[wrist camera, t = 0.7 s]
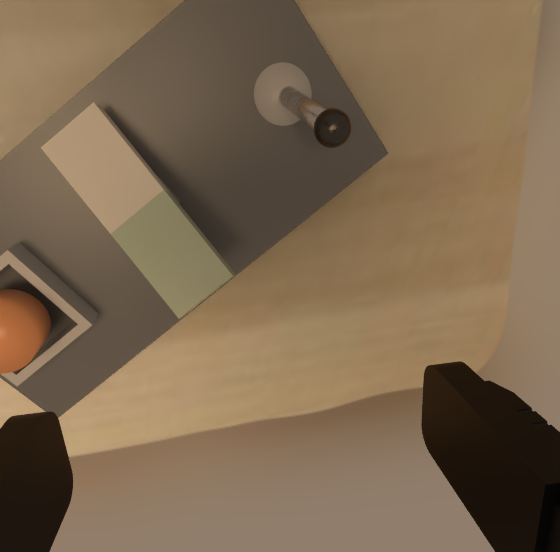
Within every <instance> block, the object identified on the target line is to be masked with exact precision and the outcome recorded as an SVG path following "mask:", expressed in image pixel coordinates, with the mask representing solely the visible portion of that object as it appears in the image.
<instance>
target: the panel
mask: <svg viewBox="0 0 560 552" xmlns="http://www.w3.org/2000/svg"><path fill="white" fill-rule="evenodd" d="M287 86H291V87H294V88H295V89H297V90H298V91H300V92H301V93H303V94H304V95H306V96H307V97H309V98H310V99H312V100H313V101H315V102H316V103H318V104H319V105H321V106H322V107H324V108H325V109H330V108H336V109H340V110H342V111H343V112H345V113H346V114H347V116H348V117H349V119H350V122H351V133H350V136H349V138H348V139H347V141H346V142H345V143H344V144H342V145H341V146H339V147H336V148H327V147H324V146H323V145H321V144H320V143H319V142H318V141H317V140H316V138H315V135H314V131H313V129H312V128H311V127H310V126H308V125H307V124H306V123H304V122H303V121H302V120H300V119H299V118H298V117H297V116H295V115H294V114H293V113H291V112H290V111H289V110H287V109H286V108H285V107H284V106H282V105H281V103H280V101H279V94H280V91H281V90H282V89H283V88H284V87H287ZM93 102H94V103H96V104H97V105H98V106H100V107H101V108H102V109H104V110H105V112H106V113H107V114H108V115H109V117H110V118H111V119H112V120H113V122H114V123H115V124H116V125H117V127H118V128H119V129H120V130H121V132H122V133H123V134H124V135H125V137H126V138H127V139H128V140H129V142H130V143H131V144H132V145H133V147H134V148H135V149H136V150H137V152H138V153H139V154H140V155H141V157H142V158H143V159H144V160H145V162H146V163H147V164H148V165H149V167H150V168H151V169H152V170H153V172H154V173H155V174H156V175H157V177H158V178H159V179H160V180H161V182H162V183H163V184H164V185H165V187H166V188H167V189H168V190H169V192H170V193H171V194H172V195H173V197H174V198H175V199H176V200H177V202H178V203H179V204H180V205H181V207H182V208H183V209H184V210H185V212H186V213H187V214H188V215H189V217H190V218H191V219H192V220H193V222H194V223H195V224H196V225H197V227H198V228H199V229H200V230H201V232H202V233H203V234H204V235H205V237H206V238H207V239H208V240H209V242H210V243H211V244H212V245H213V247H214V248H215V249H216V250H217V252H218V253H219V254H220V255H221V257H222V258H223V259H224V260H225V262H226V263H227V264H228V265H229V267H230V268H231V269H232V270H233V272H234V273H235V274H236V275H237V274H238V273H239V272H241V271H242V270H243V269H244V268H246V267H247V266H248V265H249V264H251V263H252V262H253V261H254V260H256V259H257V258H258V257H259V256H261V255H262V254H263V253H264V252H266V251H267V250H268V249H269V248H271V247H272V246H273V245H274V244H276V243H277V242H278V241H279V240H281V239H282V238H283V237H284V236H286V235H287V234H288V233H289V232H291V231H292V230H293V229H294V228H296V227H297V226H298V225H299V224H301V223H302V222H303V221H304V220H306V219H307V218H308V217H309V216H310V215H312V214H313V213H314V212H315V211H317V210H318V209H319V208H320V207H322V206H323V205H324V204H325V203H327V202H328V201H329V200H330V199H332V198H333V197H334V196H335V195H337V194H338V193H339V192H340V191H342V190H343V189H344V188H345V187H347V186H348V185H349V184H350V183H352V182H353V181H354V180H355V179H357V178H358V177H359V176H360V175H362V174H363V173H364V172H365V171H367V170H368V169H369V168H370V167H372V166H373V165H374V164H375V163H377V162H378V161H379V160H380V159H382V158H383V157H384V156H385V155H387V154H388V152H387V150H386V149H385V147H384V145H383V144H382V142H381V140H380V139H379V137H378V136H377V134H376V132H375V131H374V129H373V127H372V126H371V124H370V123H369V121H368V119H367V118H366V116H365V115H364V113H363V111H362V110H361V108H360V106H359V105H358V103H357V102H356V100H355V98H354V97H353V95H352V93H351V92H350V90H349V89H348V87H347V85H346V84H345V82H344V80H343V79H342V77H341V76H340V74H339V72H338V71H337V69H336V67H335V66H334V64H333V63H332V61H331V59H330V58H329V56H328V55H327V53H326V51H325V50H324V48H323V46H322V45H321V43H320V42H319V40H318V38H317V37H316V35H315V33H314V32H313V30H312V29H311V27H310V25H309V24H308V22H307V20H306V19H305V17H304V16H303V14H302V12H301V11H300V9H299V8H298V6H297V4H296V3H295V1H294V0H185V1H183V2H182V3H181V4H180V5H179V6H178V7H177V8H175V9H174V10H173V11H172V12H171V13H170V14H168V15H167V16H166V17H165V18H164V19H163V20H162V21H160V22H159V23H158V24H157V25H156V26H155V27H153V28H152V29H151V30H150V31H149V32H148V33H147V34H145V35H144V36H143V37H142V38H141V39H140V40H138V41H137V42H136V43H135V44H134V45H133V46H132V47H130V48H129V49H128V50H127V51H126V52H125V53H124V54H122V55H121V56H120V57H119V58H118V59H117V60H115V61H114V62H113V63H112V64H111V65H110V66H109V67H107V68H106V69H105V70H104V71H103V72H102V73H100V74H99V75H98V76H97V77H96V78H95V79H94V80H92V81H91V82H90V83H89V84H88V85H87V86H85V87H84V88H83V89H82V90H81V91H80V92H79V93H77V94H76V95H75V96H74V97H73V98H72V99H71V100H69V101H68V102H67V103H66V104H65V105H64V106H62V107H61V108H60V109H59V110H58V111H57V112H56V113H54V114H53V115H52V116H51V117H50V118H49V119H47V120H46V121H45V122H44V123H43V124H42V125H41V126H39V127H38V128H37V129H36V130H35V131H34V132H32V133H31V134H30V135H29V136H28V137H27V138H26V139H24V140H23V141H22V142H21V143H20V144H19V145H18V146H16V147H15V148H14V149H13V150H12V151H11V152H9V153H8V154H7V155H6V156H5V157H4V158H3V159H1V160H0V290H1V289H15V290H20V291H23V292H26V293H28V294H30V295H32V296H34V297H35V298H37V299H38V300H39V301H40V302H41V303H42V304H43V305H44V306H45V308H46V309H47V311H48V313H49V316H50V319H51V329H50V333H49V336H48V337H47V339H46V340H45V342H44V343H43V345H42V346H41V347H40V349H39V350H38V352H37V353H36V354H35V356H34V357H33V358H32V360H31V361H30V362H29V363H28V364H27V365H26V366H24V367H23V368H21V369H19V370H17V371H14V372H10V373H5V374H0V378H2V379H3V380H4V381H6V382H7V383H8V384H10V385H11V386H12V387H14V388H15V389H16V390H18V391H19V392H20V393H22V394H23V395H24V396H26V397H27V398H28V399H30V400H31V401H32V402H34V403H35V404H36V405H38V406H39V407H40V408H42V409H43V410H44V411H46V412H50V411H52V412H54V413H55V414H56V415H57V417H58V418H59V417H60V416H61V415H62V414H64V413H65V412H66V411H67V410H69V409H70V408H71V407H72V406H74V405H75V404H76V403H77V402H79V401H80V400H81V399H82V398H84V397H85V396H86V395H87V394H89V393H90V392H91V391H92V390H93V389H95V388H96V387H97V386H98V385H100V384H101V383H102V382H103V381H105V380H106V379H107V378H108V377H110V376H111V375H112V374H113V373H115V372H116V371H117V370H118V369H120V368H121V367H122V366H123V365H125V364H126V363H127V362H128V361H130V360H131V359H132V358H133V357H135V356H136V355H137V354H138V353H140V352H141V351H142V350H143V349H145V348H146V347H147V346H148V345H150V344H151V343H152V342H153V341H155V340H156V339H157V338H158V337H160V336H161V335H162V334H163V333H165V332H166V331H167V330H168V329H170V328H171V327H172V326H173V325H175V324H176V323H177V322H178V321H180V320H181V319H182V318H183V317H185V316H186V315H187V314H186V315H185V316H183V317H182V318H180V319H179V318H178V317H177V316H176V315H175V313H174V312H173V311H172V310H171V308H170V307H169V306H168V305H167V303H166V302H165V301H164V300H163V298H162V297H161V296H160V295H159V294H158V292H157V291H156V290H155V289H154V287H153V286H152V285H151V284H150V282H149V281H148V280H147V279H146V277H145V276H144V275H143V274H142V272H141V271H140V270H139V269H138V268H137V266H136V265H135V264H134V263H133V261H132V260H131V259H130V258H129V256H128V255H127V254H126V253H125V251H124V250H123V249H122V248H121V246H120V245H119V244H118V243H117V242H116V240H115V239H114V238H113V237H112V235H111V234H110V233H109V232H108V230H107V229H106V228H105V227H104V225H103V224H102V223H101V222H100V220H99V219H98V218H97V217H96V216H95V214H94V213H93V212H92V211H91V209H90V208H89V207H88V206H87V204H86V203H85V202H84V201H83V199H82V198H81V197H80V196H79V195H78V193H77V192H76V191H75V190H74V188H73V187H72V186H71V185H70V183H69V182H68V181H67V180H66V178H65V177H64V176H63V175H62V173H61V172H60V171H59V170H58V169H57V167H56V166H55V165H54V164H53V162H52V161H51V160H50V159H49V157H48V156H47V155H46V154H45V152H44V151H43V150H42V149H41V147H42V146H43V145H44V144H46V143H47V142H48V141H49V140H50V139H51V138H53V137H54V136H55V135H56V134H57V133H58V132H59V131H61V130H62V129H63V128H64V127H65V126H66V125H68V124H69V123H70V122H71V121H72V120H73V119H75V118H76V117H77V116H78V115H79V114H80V113H81V112H83V111H84V110H85V109H86V108H87V107H88V106H90V105H91V104H92V103H93ZM236 275H235V276H236ZM232 278H233V277H232ZM232 278H231V279H232ZM231 279H230V280H231ZM227 282H228V281H227ZM227 282H226V283H227ZM226 283H225V284H226ZM222 286H223V285H222ZM222 286H221V287H222ZM221 287H220V288H221ZM217 290H218V289H217ZM217 290H216V291H217ZM216 291H215V292H216ZM212 294H213V293H212ZM212 294H211V295H212ZM211 295H210V296H211ZM207 298H208V297H207ZM207 298H206V299H207ZM206 299H205V300H206ZM201 303H202V302H201ZM201 303H200V304H201ZM200 304H199V305H200ZM196 307H197V306H196ZM196 307H195V308H196ZM195 308H194V309H195ZM191 311H192V310H191ZM191 311H190V312H191ZM190 312H189V313H190Z"/></svg>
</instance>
